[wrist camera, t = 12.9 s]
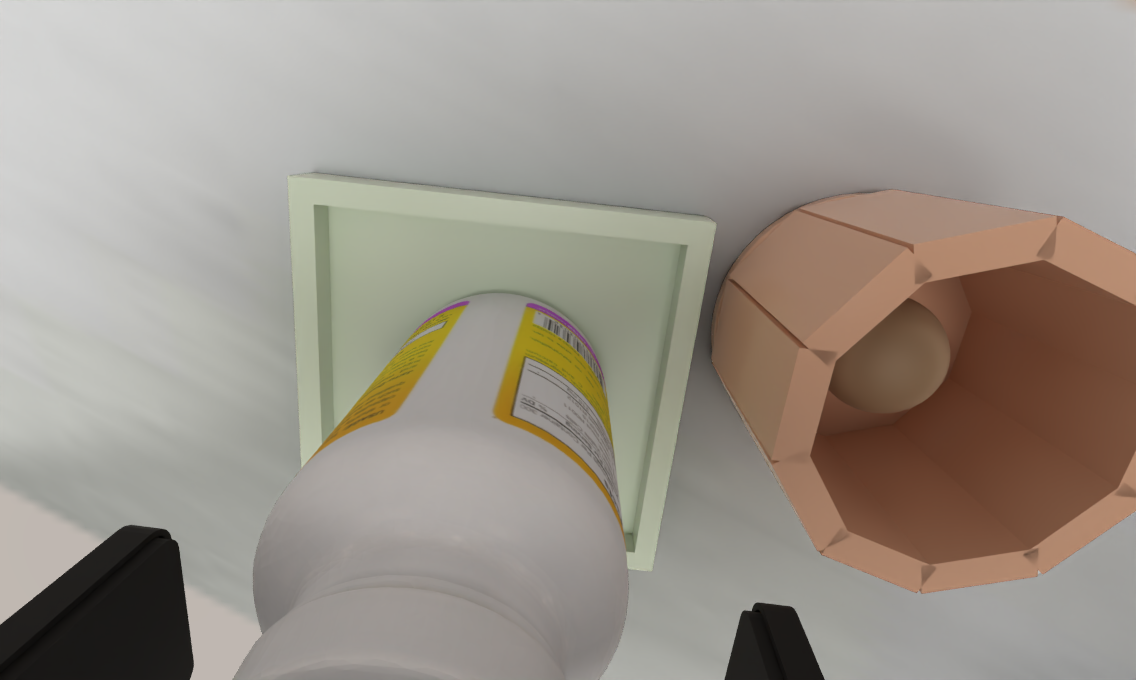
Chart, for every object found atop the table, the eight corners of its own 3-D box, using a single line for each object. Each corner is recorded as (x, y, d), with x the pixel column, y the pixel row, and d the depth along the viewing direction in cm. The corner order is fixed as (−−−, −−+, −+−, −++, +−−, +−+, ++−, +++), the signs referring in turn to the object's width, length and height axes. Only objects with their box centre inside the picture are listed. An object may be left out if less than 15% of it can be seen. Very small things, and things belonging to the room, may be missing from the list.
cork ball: (922, 286, 18) (998, 319, 15) (890, 389, 19) (955, 441, 16) (811, 274, 18) (863, 305, 14) (786, 378, 19) (828, 427, 16)
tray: (705, 215, 18) (716, 223, 16) (647, 541, 22) (652, 571, 20) (312, 172, 18) (287, 175, 16) (323, 509, 22) (304, 536, 20)
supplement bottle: (401, 463, 20) (136, 950, 8) (403, 276, 18) (47, 557, 6) (594, 483, 20) (615, 991, 8) (619, 299, 18) (698, 620, 6)
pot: (1017, 202, 18) (1279, 240, 11) (928, 458, 21) (1094, 611, 14) (740, 171, 18) (838, 191, 11) (689, 433, 20) (742, 575, 14)
